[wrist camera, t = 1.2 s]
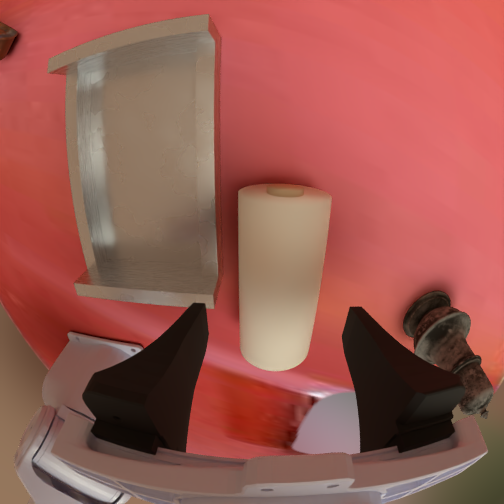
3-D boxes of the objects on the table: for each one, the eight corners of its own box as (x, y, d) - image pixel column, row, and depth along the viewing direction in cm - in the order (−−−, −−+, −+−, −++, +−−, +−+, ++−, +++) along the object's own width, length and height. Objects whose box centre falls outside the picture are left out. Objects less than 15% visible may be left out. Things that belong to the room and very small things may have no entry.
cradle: (102, 268, 20) (77, 295, 16) (83, 65, 13) (48, 58, 9) (223, 274, 19) (214, 308, 16) (221, 37, 12) (208, 14, 9)
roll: (238, 328, 21) (242, 376, 17) (236, 178, 16) (240, 199, 12) (299, 324, 22) (315, 369, 17) (315, 179, 17) (347, 200, 12)
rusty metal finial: (435, 338, 22) (483, 431, 11) (390, 339, 22) (434, 450, 11) (461, 290, 19) (530, 381, 8) (416, 285, 19) (490, 398, 8)
